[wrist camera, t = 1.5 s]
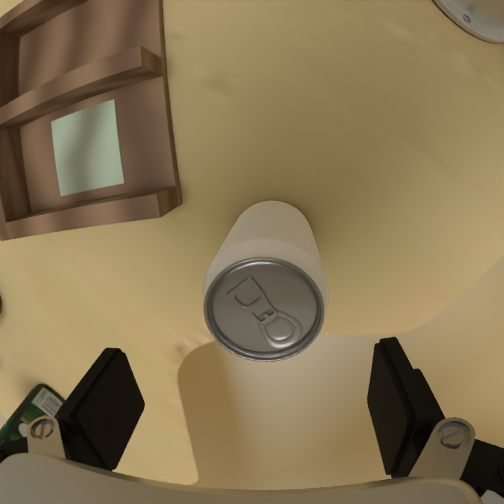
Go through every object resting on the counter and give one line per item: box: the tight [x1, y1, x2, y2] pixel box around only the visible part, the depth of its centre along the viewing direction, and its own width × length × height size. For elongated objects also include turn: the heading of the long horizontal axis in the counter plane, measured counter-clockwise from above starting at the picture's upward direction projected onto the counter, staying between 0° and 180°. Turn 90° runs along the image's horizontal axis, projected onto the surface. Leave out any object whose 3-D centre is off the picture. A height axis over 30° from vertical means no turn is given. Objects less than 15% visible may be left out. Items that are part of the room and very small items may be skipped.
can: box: [203, 201, 329, 362], centre depth 20 cm, size 6×6×12 cm
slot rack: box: [0, 0, 182, 241], centre depth 20 cm, size 18×23×5 cm
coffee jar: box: [0, 385, 64, 445], centre depth 29 cm, size 10×8×19 cm
